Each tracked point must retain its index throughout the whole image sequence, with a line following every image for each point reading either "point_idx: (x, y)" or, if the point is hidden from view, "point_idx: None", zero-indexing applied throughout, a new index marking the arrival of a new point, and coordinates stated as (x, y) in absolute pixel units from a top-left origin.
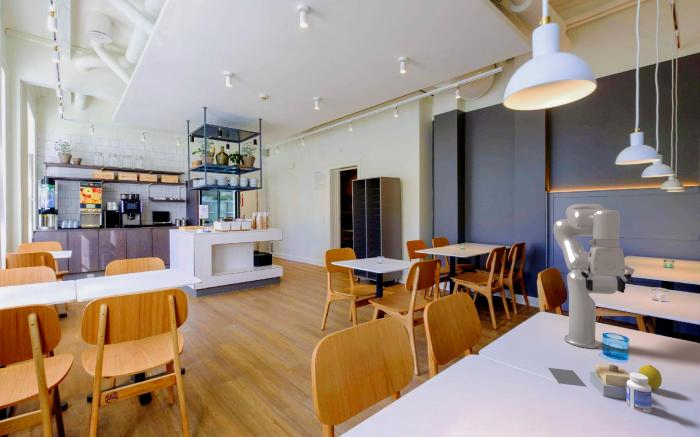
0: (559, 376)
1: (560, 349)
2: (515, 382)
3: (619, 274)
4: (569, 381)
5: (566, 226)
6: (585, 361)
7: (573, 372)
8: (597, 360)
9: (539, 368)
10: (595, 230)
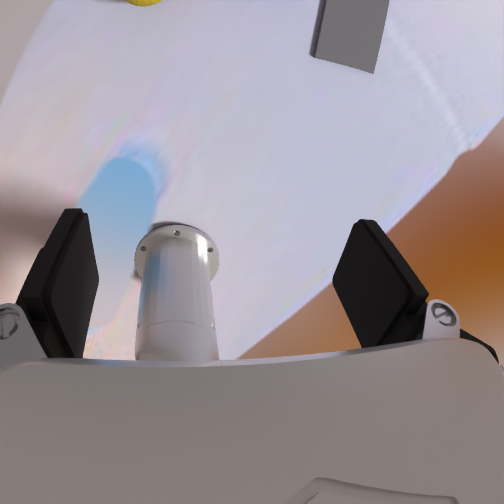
0: (370, 27)
1: (262, 202)
2: (460, 26)
3: (59, 391)
4: (360, 2)
5: None
6: (232, 131)
7: (321, 45)
8: (191, 145)
9: (387, 78)
10: None
